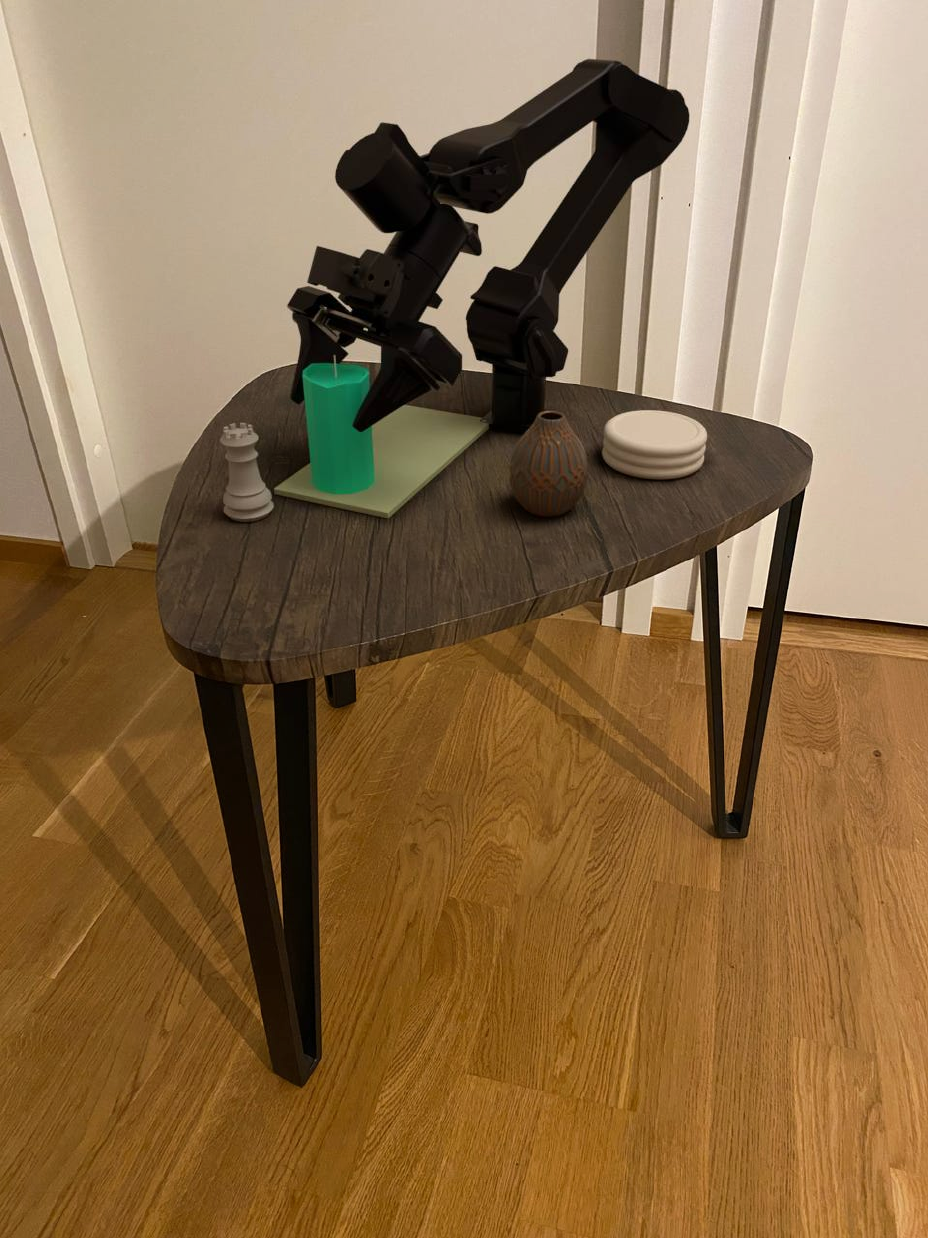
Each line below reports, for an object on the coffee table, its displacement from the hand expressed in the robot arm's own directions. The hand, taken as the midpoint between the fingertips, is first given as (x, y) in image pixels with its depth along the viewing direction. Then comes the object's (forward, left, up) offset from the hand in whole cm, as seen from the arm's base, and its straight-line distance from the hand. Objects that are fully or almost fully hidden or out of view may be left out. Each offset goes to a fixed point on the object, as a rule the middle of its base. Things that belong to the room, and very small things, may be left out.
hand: (324, 415), depth 87 cm
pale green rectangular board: (-9, +2, -7) cm, 12 cm away
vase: (-5, +20, -8) cm, 22 cm away
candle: (-2, +1, -7) cm, 7 cm away
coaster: (-19, +26, -8) cm, 33 cm away
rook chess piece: (+7, -4, -8) cm, 11 cm away
